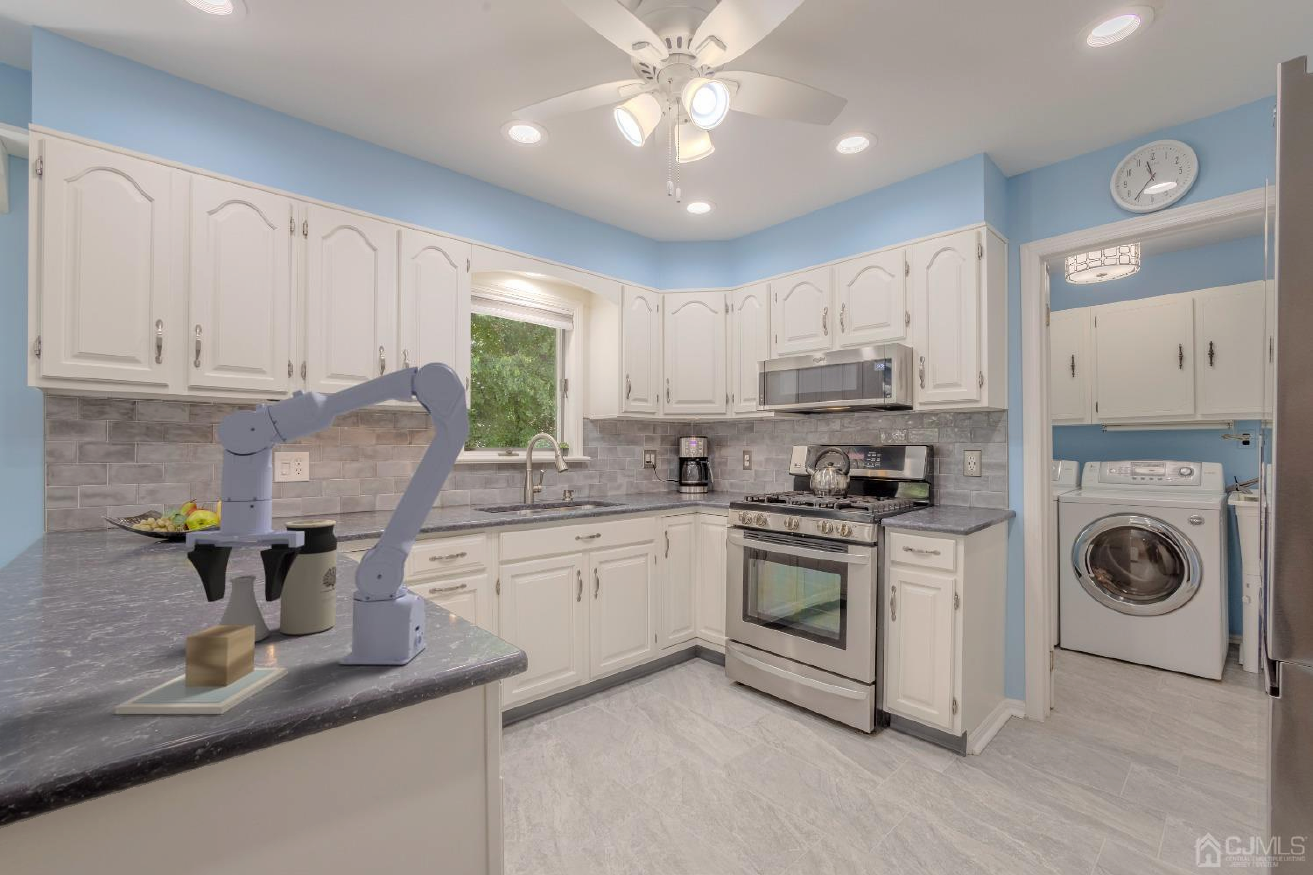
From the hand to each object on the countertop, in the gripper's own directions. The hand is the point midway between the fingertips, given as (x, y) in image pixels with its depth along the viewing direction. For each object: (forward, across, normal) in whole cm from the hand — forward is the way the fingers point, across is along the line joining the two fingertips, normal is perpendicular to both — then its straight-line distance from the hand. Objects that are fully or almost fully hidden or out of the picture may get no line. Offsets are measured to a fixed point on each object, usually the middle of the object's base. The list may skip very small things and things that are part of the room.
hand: (244, 600), depth 78 cm
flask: (+10, -9, +14) cm, 19 cm away
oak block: (+9, 0, -5) cm, 10 cm away
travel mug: (+10, -2, +19) cm, 22 cm away
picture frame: (+10, 0, -7) cm, 12 cm away
